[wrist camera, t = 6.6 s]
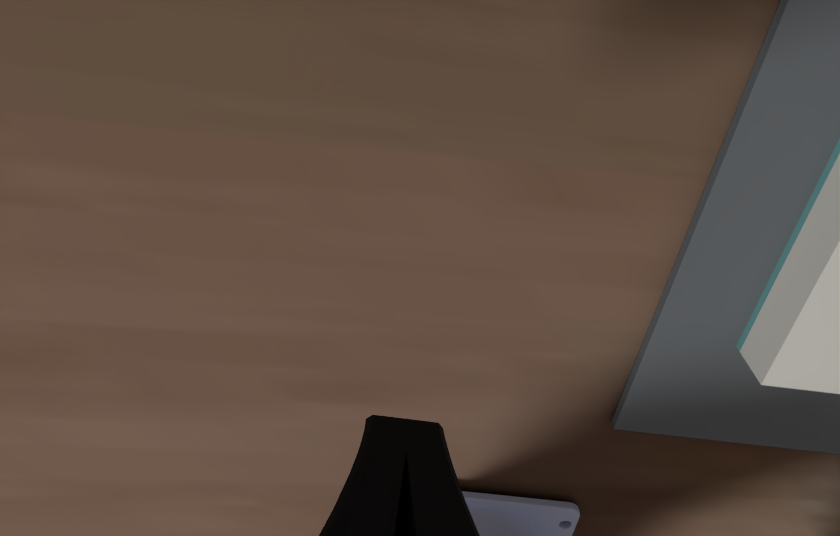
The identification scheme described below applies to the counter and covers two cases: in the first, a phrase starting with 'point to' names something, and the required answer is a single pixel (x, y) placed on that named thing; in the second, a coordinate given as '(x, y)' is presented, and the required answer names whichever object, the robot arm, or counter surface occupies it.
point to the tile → (802, 300)
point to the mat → (746, 254)
